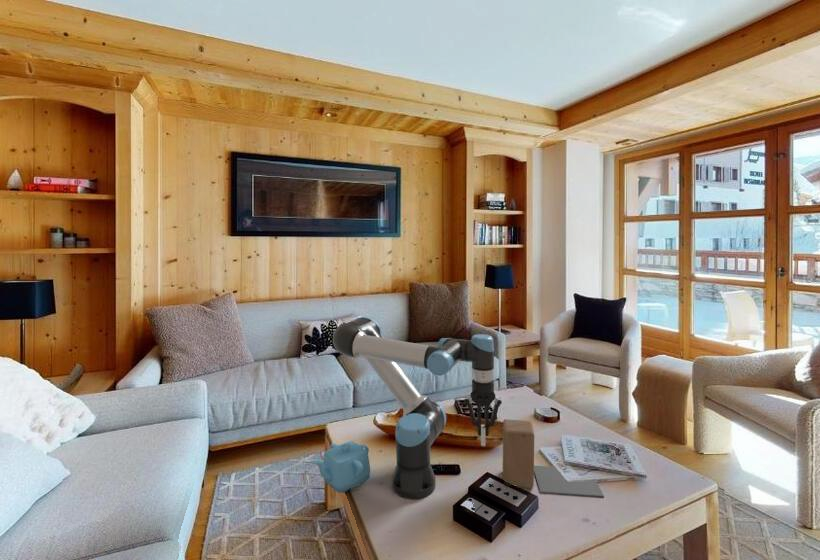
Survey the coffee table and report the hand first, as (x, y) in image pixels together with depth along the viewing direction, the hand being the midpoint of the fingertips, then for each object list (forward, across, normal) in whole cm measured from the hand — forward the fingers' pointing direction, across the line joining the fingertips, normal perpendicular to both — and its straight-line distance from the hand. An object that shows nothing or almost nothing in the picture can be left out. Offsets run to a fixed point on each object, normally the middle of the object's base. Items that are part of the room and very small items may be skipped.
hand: (483, 443), depth 137 cm
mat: (+13, +28, +1) cm, 31 cm away
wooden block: (+13, +12, 0) cm, 17 cm away
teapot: (+13, -49, -9) cm, 52 cm away
